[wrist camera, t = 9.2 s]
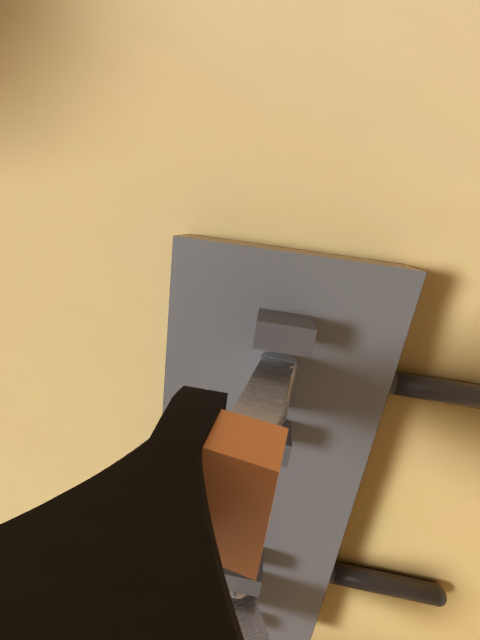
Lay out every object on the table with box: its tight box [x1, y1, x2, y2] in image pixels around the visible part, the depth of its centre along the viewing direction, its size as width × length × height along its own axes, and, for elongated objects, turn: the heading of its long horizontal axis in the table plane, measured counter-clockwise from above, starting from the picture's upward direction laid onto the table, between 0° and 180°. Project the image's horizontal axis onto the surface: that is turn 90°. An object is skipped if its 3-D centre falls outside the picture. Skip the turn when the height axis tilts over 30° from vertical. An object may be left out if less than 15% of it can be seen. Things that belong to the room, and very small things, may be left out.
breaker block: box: [163, 234, 480, 640], centre depth 14 cm, size 16×22×4 cm
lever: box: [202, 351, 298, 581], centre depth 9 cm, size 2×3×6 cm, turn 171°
